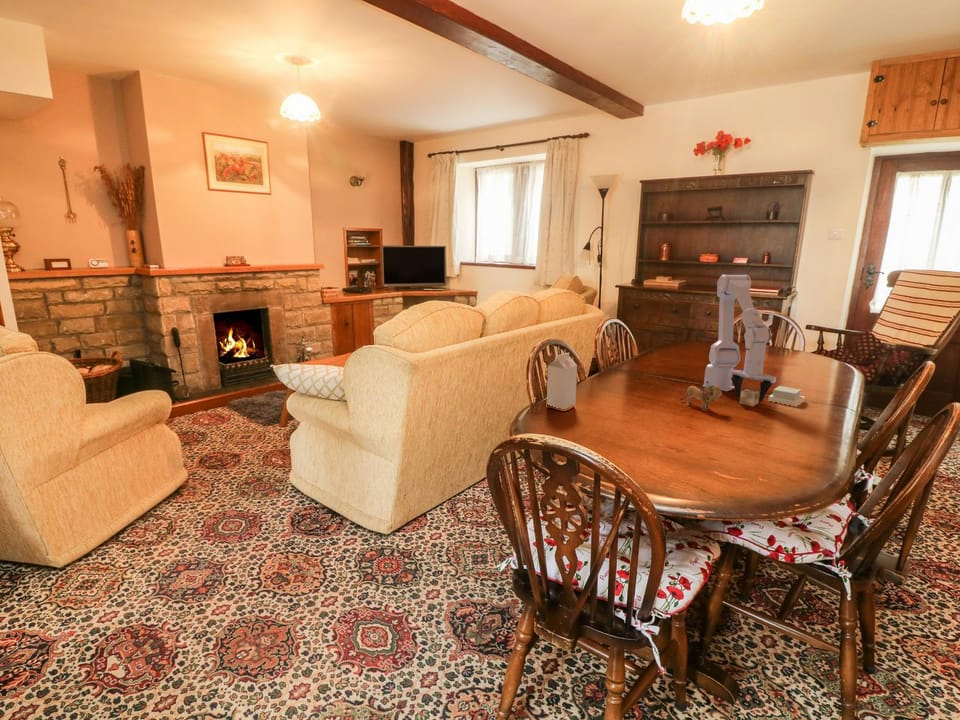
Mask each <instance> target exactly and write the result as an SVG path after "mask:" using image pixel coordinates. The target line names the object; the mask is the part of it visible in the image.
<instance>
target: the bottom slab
mask: <svg viewBox="0 0 960 720" xmlns="http://www.w3.org/2000/svg"><path fill="white" fill-rule="evenodd" d="M767 400H768V402H770V401H772V402H771V403H775V402H777V403H776V404H780V403H781V405H784V404H786V405H785V406H789V405H791V407H794V406H795V408H796V407H798V405H799V406H801V405H802V404H803V403H804V402H805V401H806V396H803V395H800V397H799V398H797V399H796V400H789V399H784V398H779V397H773V393H772V394H770V395H769V396H768V397H767ZM801 403H802V404H801Z"/></svg>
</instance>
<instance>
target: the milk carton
mask: <svg viewBox="0 0 960 720" xmlns="http://www.w3.org/2000/svg"><path fill="white" fill-rule="evenodd" d="M577 377H578V364H577V363H576V362H575V361H574V360H573V358H572V357H571V356H570V352H565V353H561V354H559V355H558V354H557V355H556V359H555V360H553V361H552V362H551V363H549V364H548V366H547V383H546V384H547V387H546V388H547V389H546V405H547V404H548V405H550V406H553V407H556V408H561V409H566V408H568V407H570V406H572V405H575V406H576V401H577V400H576V399H577V383H578V382H577V380H578V379H577Z"/></svg>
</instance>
